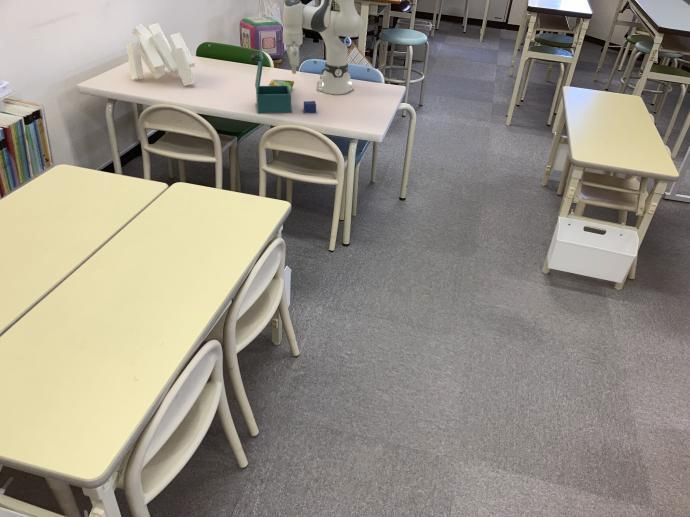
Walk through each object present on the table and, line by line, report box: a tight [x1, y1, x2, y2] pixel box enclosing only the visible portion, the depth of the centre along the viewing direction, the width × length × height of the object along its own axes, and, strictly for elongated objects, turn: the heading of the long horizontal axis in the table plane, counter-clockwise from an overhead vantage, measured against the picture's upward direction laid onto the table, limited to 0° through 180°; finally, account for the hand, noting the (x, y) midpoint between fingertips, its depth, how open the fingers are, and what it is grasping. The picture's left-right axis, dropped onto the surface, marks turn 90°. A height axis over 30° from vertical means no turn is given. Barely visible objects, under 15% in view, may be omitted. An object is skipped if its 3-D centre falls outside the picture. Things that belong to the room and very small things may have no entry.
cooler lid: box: [250, 50, 265, 94], centre depth 256 cm, size 16×13×5 cm
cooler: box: [255, 85, 292, 114], centre depth 266 cm, size 16×13×9 cm
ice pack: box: [302, 100, 317, 114], centre depth 266 cm, size 4×6×4 cm
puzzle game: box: [268, 79, 295, 93], centre depth 283 cm, size 12×5×20 cm
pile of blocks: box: [125, 22, 196, 87], centre depth 287 cm, size 35×30×35 cm
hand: (292, 70), depth 256 cm, fingers open, 8 cm apart
